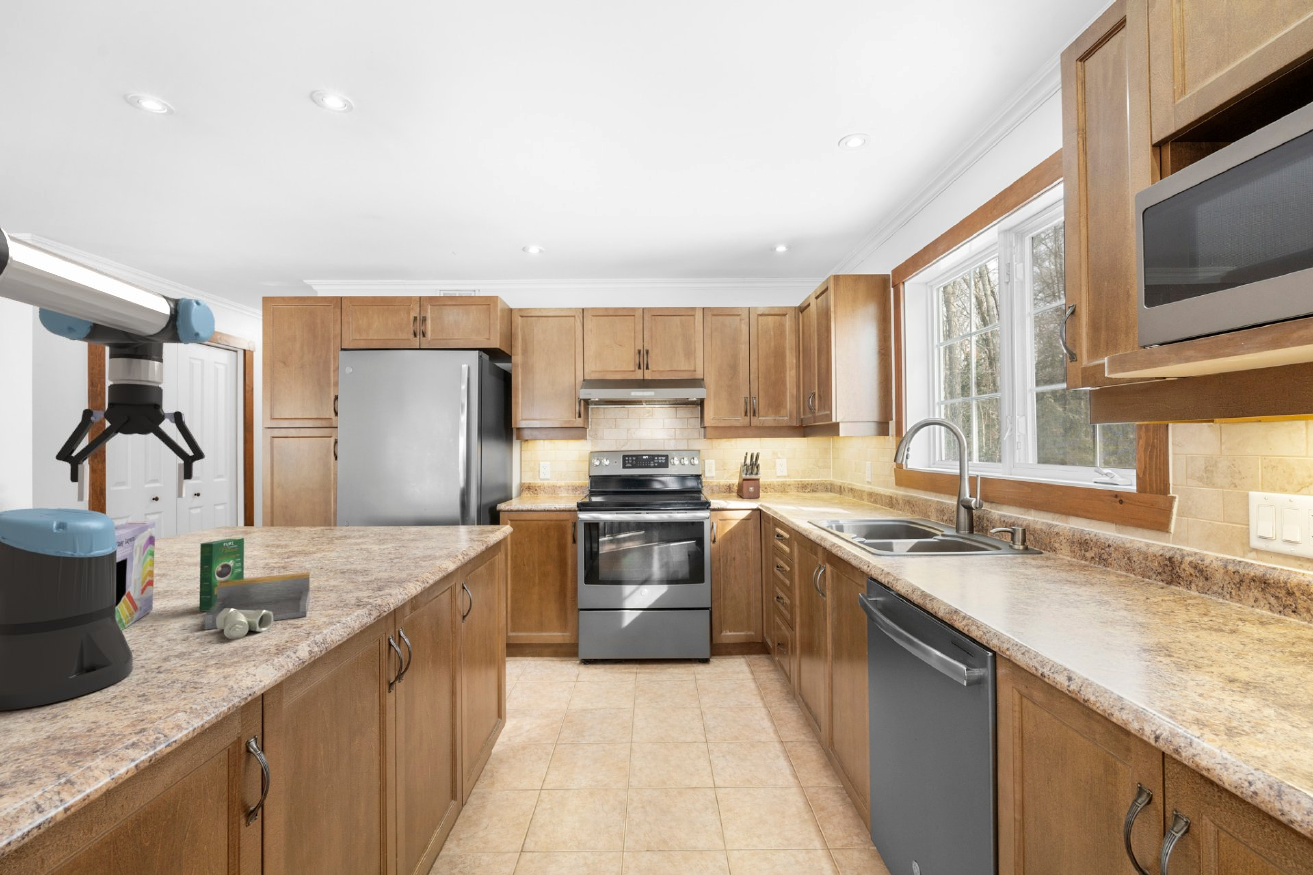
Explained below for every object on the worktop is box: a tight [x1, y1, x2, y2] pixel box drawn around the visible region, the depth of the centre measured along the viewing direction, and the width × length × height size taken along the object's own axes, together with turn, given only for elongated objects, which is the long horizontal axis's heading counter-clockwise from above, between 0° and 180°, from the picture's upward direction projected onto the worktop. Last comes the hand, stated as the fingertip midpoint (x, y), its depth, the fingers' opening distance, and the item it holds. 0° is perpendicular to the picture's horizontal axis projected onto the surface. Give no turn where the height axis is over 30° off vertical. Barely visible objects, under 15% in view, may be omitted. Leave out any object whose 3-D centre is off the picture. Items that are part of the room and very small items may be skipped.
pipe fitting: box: [216, 608, 274, 640], centre depth 97 cm, size 8×4×7 cm
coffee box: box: [199, 537, 245, 612], centre depth 114 cm, size 8×3×13 cm, turn 175°
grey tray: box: [204, 571, 311, 631], centre depth 108 cm, size 13×15×6 cm
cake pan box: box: [115, 521, 156, 631], centre depth 100 cm, size 19×5×18 cm, turn 22°
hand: (133, 499), depth 105 cm, fingers open, 13 cm apart
